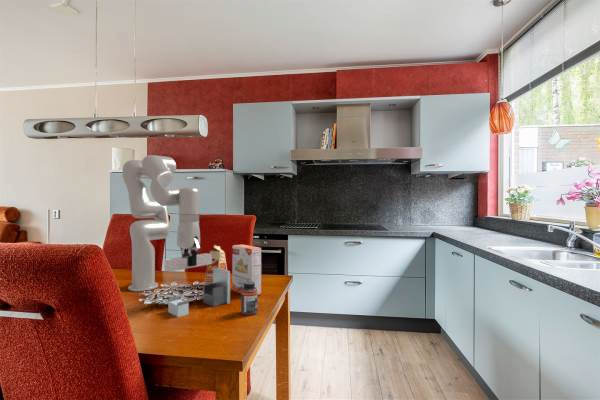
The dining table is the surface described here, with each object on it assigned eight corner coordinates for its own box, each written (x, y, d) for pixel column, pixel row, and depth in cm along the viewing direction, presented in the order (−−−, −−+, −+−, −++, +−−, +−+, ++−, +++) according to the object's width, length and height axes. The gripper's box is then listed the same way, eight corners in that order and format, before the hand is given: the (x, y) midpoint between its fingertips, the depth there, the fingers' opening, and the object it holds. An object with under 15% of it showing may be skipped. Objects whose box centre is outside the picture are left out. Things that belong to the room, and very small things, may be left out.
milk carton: (221, 288, 146) (221, 246, 146) (202, 287, 148) (203, 245, 148) (229, 283, 155) (229, 243, 155) (212, 282, 157) (212, 242, 157)
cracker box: (231, 291, 142) (231, 245, 142) (242, 288, 147) (242, 243, 147) (250, 298, 133) (251, 248, 133) (261, 294, 137) (261, 247, 137)
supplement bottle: (241, 310, 118) (242, 280, 118) (257, 309, 118) (258, 280, 118) (240, 316, 112) (240, 284, 112) (257, 315, 112) (257, 284, 112)
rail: (164, 269, 118) (164, 259, 118) (206, 262, 132) (206, 253, 132) (169, 271, 116) (169, 260, 116) (211, 263, 129) (211, 254, 129)
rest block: (168, 312, 115) (168, 298, 115) (178, 309, 118) (178, 296, 118) (178, 317, 111) (178, 303, 111) (188, 314, 114) (188, 300, 114)
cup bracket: (201, 301, 127) (201, 269, 127) (215, 298, 132) (215, 267, 132) (215, 307, 121) (215, 273, 121) (229, 303, 126) (230, 270, 126)
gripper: (169, 218, 127) (169, 264, 126) (191, 220, 116) (191, 269, 116) (186, 217, 132) (187, 261, 132) (209, 219, 121) (209, 266, 121)
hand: (189, 264), depth 124 cm, fingers closed on rail, 4 cm apart
